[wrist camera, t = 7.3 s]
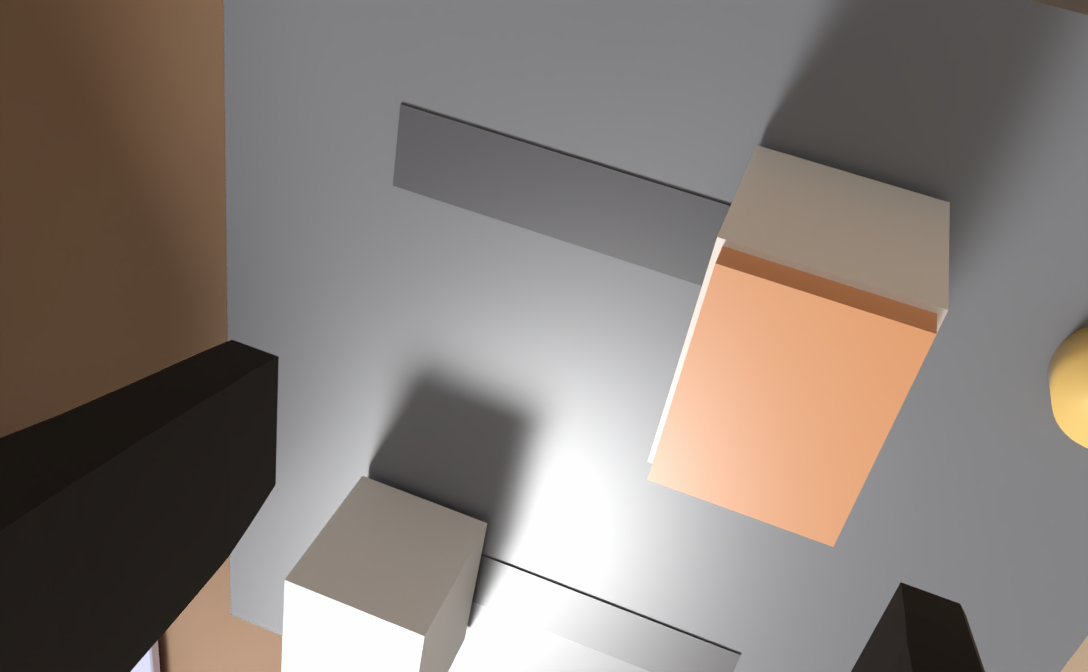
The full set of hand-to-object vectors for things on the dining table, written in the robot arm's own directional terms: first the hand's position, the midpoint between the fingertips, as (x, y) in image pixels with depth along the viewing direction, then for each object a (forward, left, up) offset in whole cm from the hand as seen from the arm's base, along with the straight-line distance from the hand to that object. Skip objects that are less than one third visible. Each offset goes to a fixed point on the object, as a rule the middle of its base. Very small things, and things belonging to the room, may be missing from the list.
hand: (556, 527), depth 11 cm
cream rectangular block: (-4, -10, -7) cm, 13 cm away
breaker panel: (0, -5, -8) cm, 10 cm away
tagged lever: (+2, 0, -7) cm, 8 cm away
